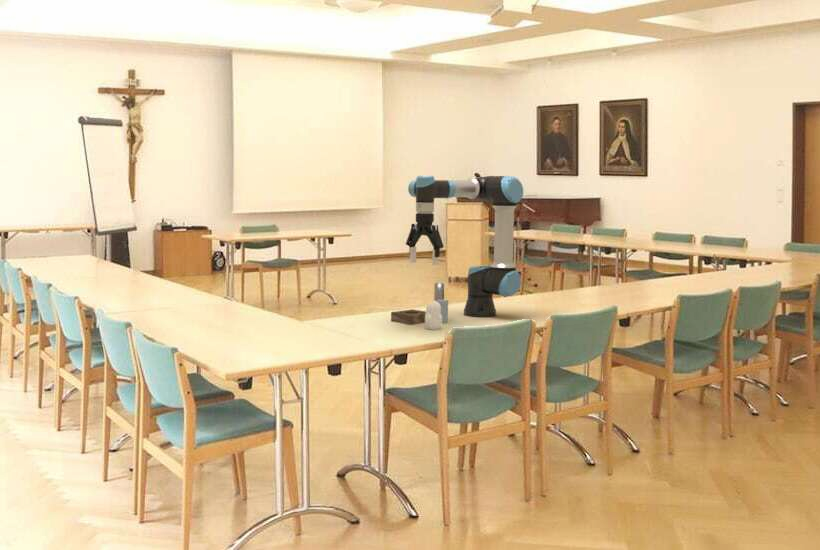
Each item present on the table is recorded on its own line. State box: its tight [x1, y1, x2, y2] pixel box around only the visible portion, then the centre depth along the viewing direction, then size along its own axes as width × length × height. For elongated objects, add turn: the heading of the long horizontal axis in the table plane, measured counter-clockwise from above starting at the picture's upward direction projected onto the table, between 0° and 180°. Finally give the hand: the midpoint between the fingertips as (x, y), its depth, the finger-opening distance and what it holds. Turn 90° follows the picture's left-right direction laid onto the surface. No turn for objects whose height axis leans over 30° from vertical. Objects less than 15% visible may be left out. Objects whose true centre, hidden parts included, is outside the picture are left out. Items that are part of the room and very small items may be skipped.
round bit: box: [433, 282, 445, 301], centre depth 406 cm, size 4×4×16 cm
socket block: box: [390, 308, 426, 326], centre depth 398 cm, size 13×13×4 cm
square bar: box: [436, 299, 449, 325], centre depth 395 cm, size 4×4×10 cm
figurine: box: [424, 300, 442, 331], centre depth 380 cm, size 7×8×12 cm
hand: (424, 263), depth 373 cm, fingers open, 13 cm apart
